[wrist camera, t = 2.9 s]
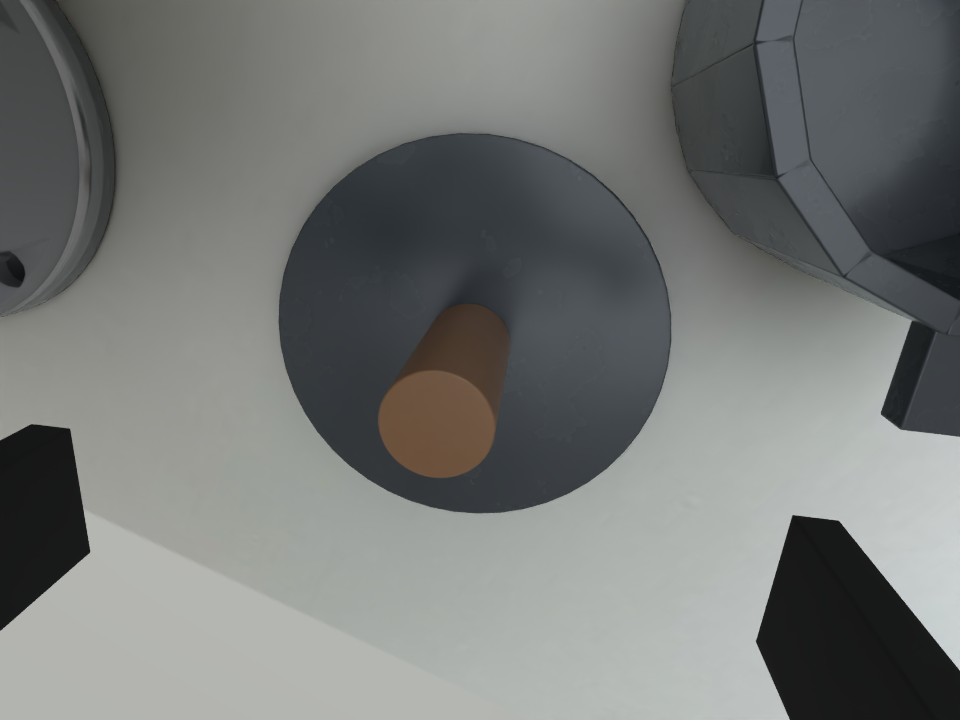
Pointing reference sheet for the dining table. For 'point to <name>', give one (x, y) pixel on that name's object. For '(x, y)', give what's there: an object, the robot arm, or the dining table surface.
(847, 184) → the pot
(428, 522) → the dining table surface
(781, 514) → the dining table surface
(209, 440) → the dining table surface
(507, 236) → the lid
